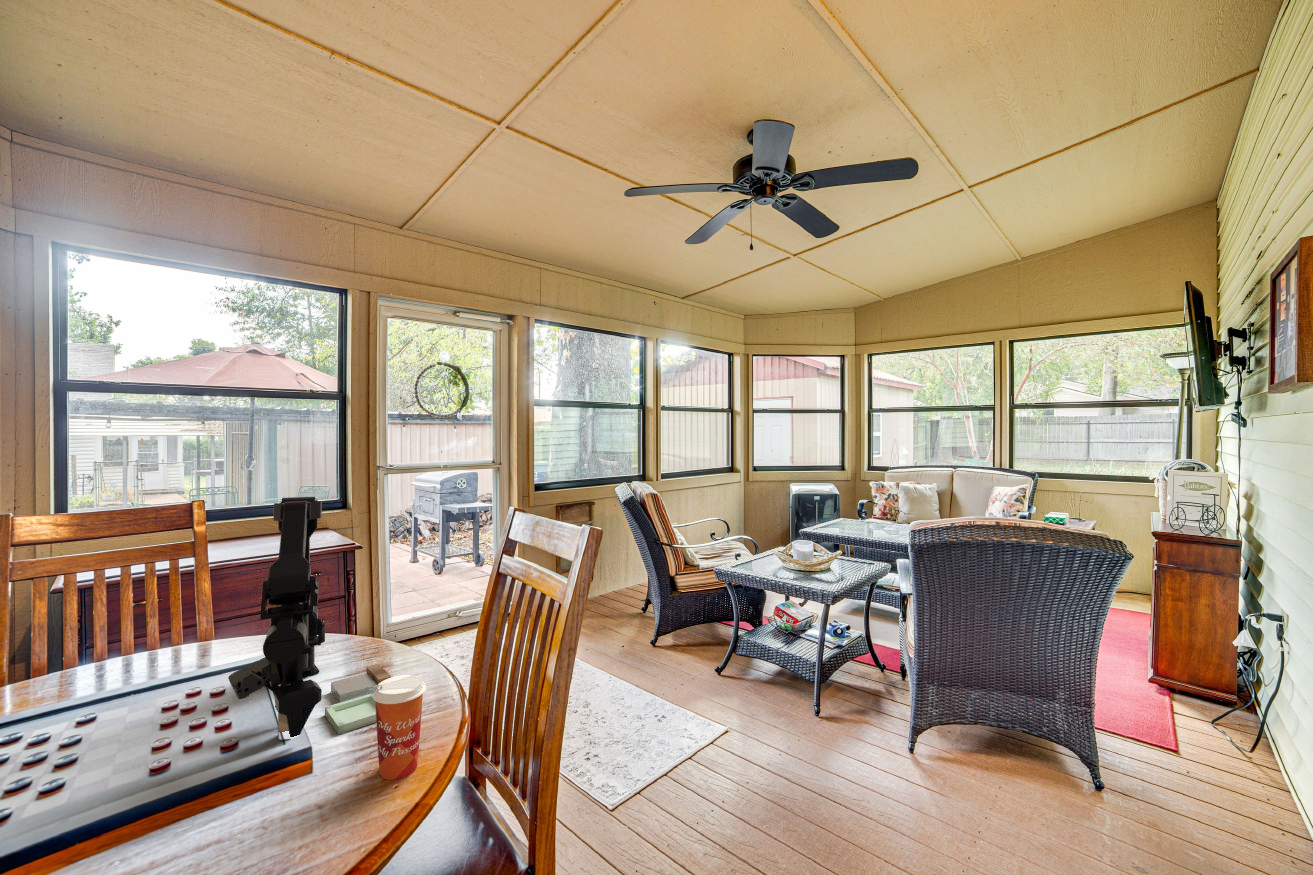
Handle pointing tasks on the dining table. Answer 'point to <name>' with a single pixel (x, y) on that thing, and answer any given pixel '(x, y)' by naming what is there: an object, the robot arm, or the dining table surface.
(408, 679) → the paper cup
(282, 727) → the dowel
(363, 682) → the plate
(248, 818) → the dining table surface
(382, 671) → the block
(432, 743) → the dining table surface
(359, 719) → the tray
